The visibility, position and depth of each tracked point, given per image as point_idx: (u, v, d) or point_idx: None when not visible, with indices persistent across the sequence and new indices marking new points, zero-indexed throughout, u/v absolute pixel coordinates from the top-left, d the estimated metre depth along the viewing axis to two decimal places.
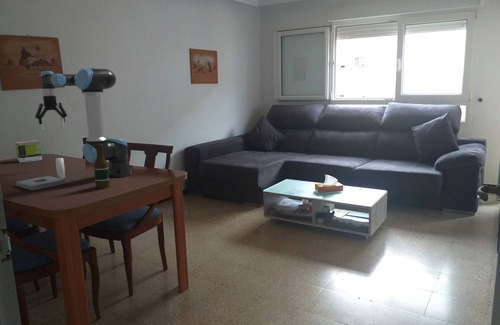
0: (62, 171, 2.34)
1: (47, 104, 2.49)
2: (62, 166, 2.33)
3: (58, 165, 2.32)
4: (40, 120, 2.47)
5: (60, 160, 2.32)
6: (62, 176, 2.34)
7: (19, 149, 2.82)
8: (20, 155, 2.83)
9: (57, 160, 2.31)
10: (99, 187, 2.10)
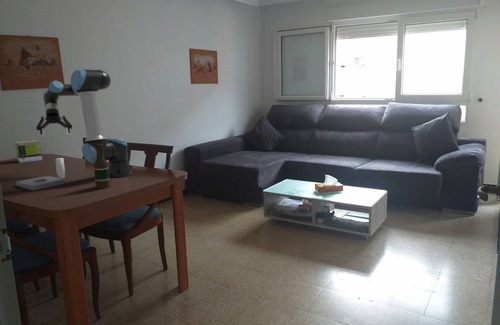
0: (62, 171, 2.34)
1: (48, 117, 2.45)
2: (62, 166, 2.33)
3: (58, 165, 2.32)
4: (41, 130, 2.39)
5: (60, 160, 2.32)
6: (62, 176, 2.34)
7: (19, 149, 2.82)
8: (20, 155, 2.83)
9: (57, 160, 2.31)
10: (99, 187, 2.10)
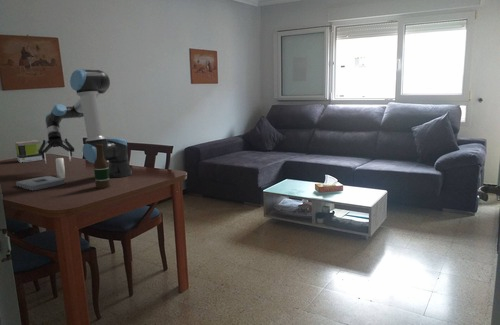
0: (62, 171, 2.34)
1: (50, 140, 2.43)
2: (62, 166, 2.33)
3: (58, 165, 2.32)
4: (42, 154, 2.36)
5: (60, 160, 2.32)
6: (62, 176, 2.34)
7: (19, 149, 2.82)
8: (20, 155, 2.83)
9: (57, 160, 2.31)
10: (99, 187, 2.10)
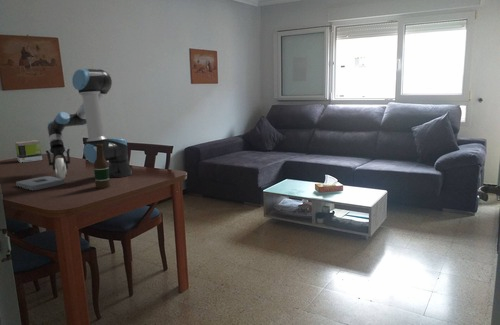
0: (62, 171, 2.34)
1: (52, 148, 2.38)
2: (62, 166, 2.33)
3: (58, 165, 2.32)
4: (53, 165, 2.32)
5: (60, 160, 2.32)
6: (62, 176, 2.34)
7: (19, 149, 2.82)
8: (20, 155, 2.83)
9: (57, 160, 2.31)
10: (99, 187, 2.10)
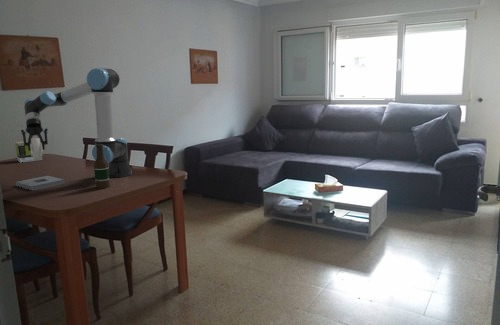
0: (38, 152, 2.14)
1: (29, 128, 2.19)
2: (38, 147, 2.14)
3: (34, 145, 2.13)
4: (28, 145, 2.13)
5: (36, 140, 2.13)
6: (38, 157, 2.15)
7: (19, 149, 2.82)
8: (20, 155, 2.83)
9: (33, 140, 2.12)
10: (99, 187, 2.10)
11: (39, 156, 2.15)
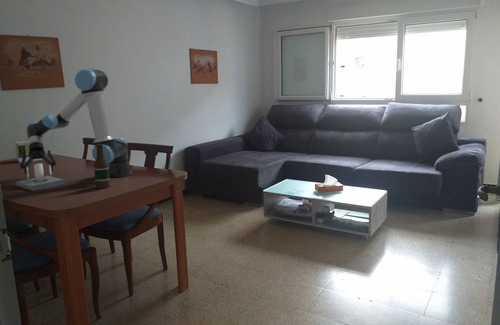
0: (41, 178, 2.17)
1: (31, 152, 2.21)
2: (41, 172, 2.17)
3: (37, 171, 2.15)
4: (25, 168, 2.14)
5: (39, 166, 2.15)
6: None
7: (19, 149, 2.82)
8: (20, 155, 2.83)
9: (36, 166, 2.15)
10: (99, 187, 2.10)
11: None
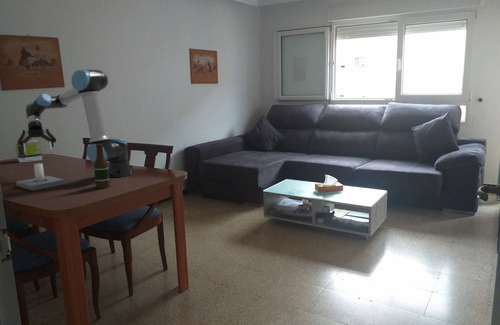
0: (41, 178, 2.17)
1: (31, 130, 2.31)
2: (41, 172, 2.17)
3: (37, 171, 2.15)
4: (22, 145, 2.24)
5: (39, 166, 2.15)
6: None
7: (19, 149, 2.82)
8: (20, 155, 2.83)
9: (36, 166, 2.15)
10: (99, 187, 2.10)
11: None
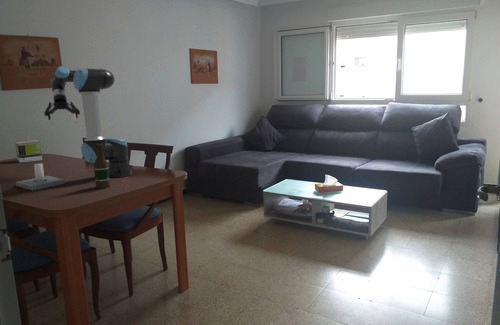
0: (41, 178, 2.17)
1: (56, 103, 2.46)
2: (41, 172, 2.17)
3: (37, 171, 2.15)
4: (49, 115, 2.39)
5: (39, 166, 2.15)
6: None
7: (19, 149, 2.82)
8: (20, 155, 2.83)
9: (36, 166, 2.15)
10: (99, 187, 2.10)
11: None
